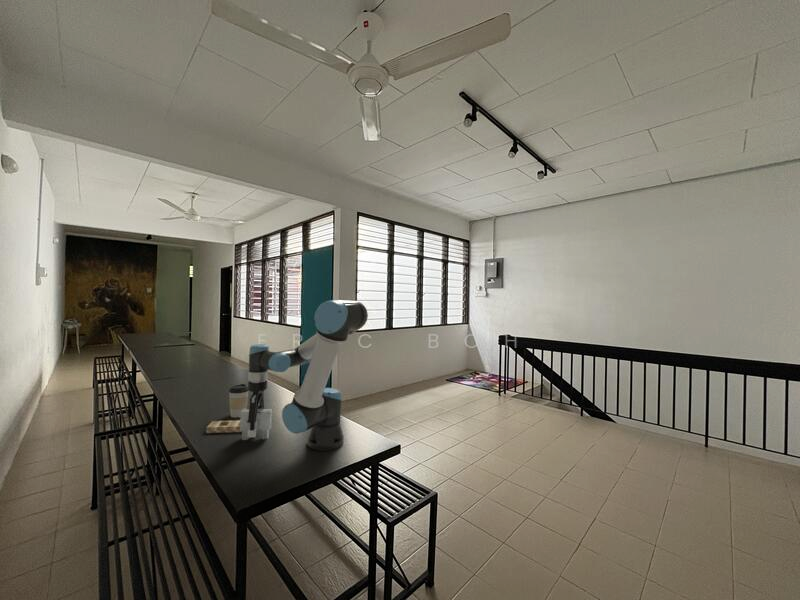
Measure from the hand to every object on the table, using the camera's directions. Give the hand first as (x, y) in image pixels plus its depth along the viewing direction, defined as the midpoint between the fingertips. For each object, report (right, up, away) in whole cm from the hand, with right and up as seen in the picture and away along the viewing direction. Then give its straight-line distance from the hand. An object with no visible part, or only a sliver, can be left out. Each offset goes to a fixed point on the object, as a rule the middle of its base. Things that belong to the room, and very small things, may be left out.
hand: (255, 431), depth 139 cm
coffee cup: (-20, -2, +24) cm, 31 cm away
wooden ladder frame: (-14, -2, +8) cm, 16 cm away
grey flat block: (0, -3, 0) cm, 3 cm away
